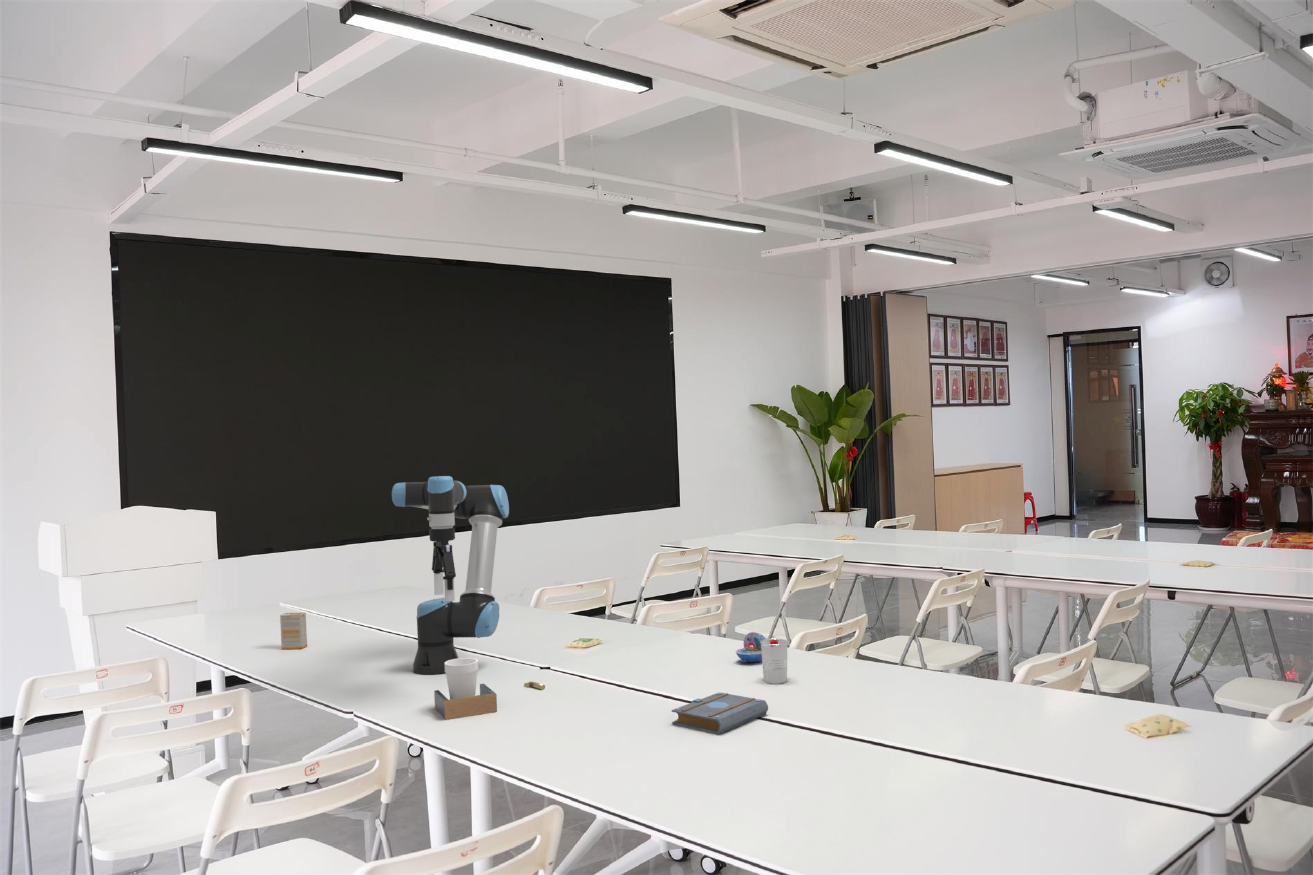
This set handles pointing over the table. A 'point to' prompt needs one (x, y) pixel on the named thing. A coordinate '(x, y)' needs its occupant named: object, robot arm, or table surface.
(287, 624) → the supplement box
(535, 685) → the brass key
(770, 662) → the ribbed metal can
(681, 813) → the table surface
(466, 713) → the channel
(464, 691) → the foam cup
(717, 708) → the book
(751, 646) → the cell model
